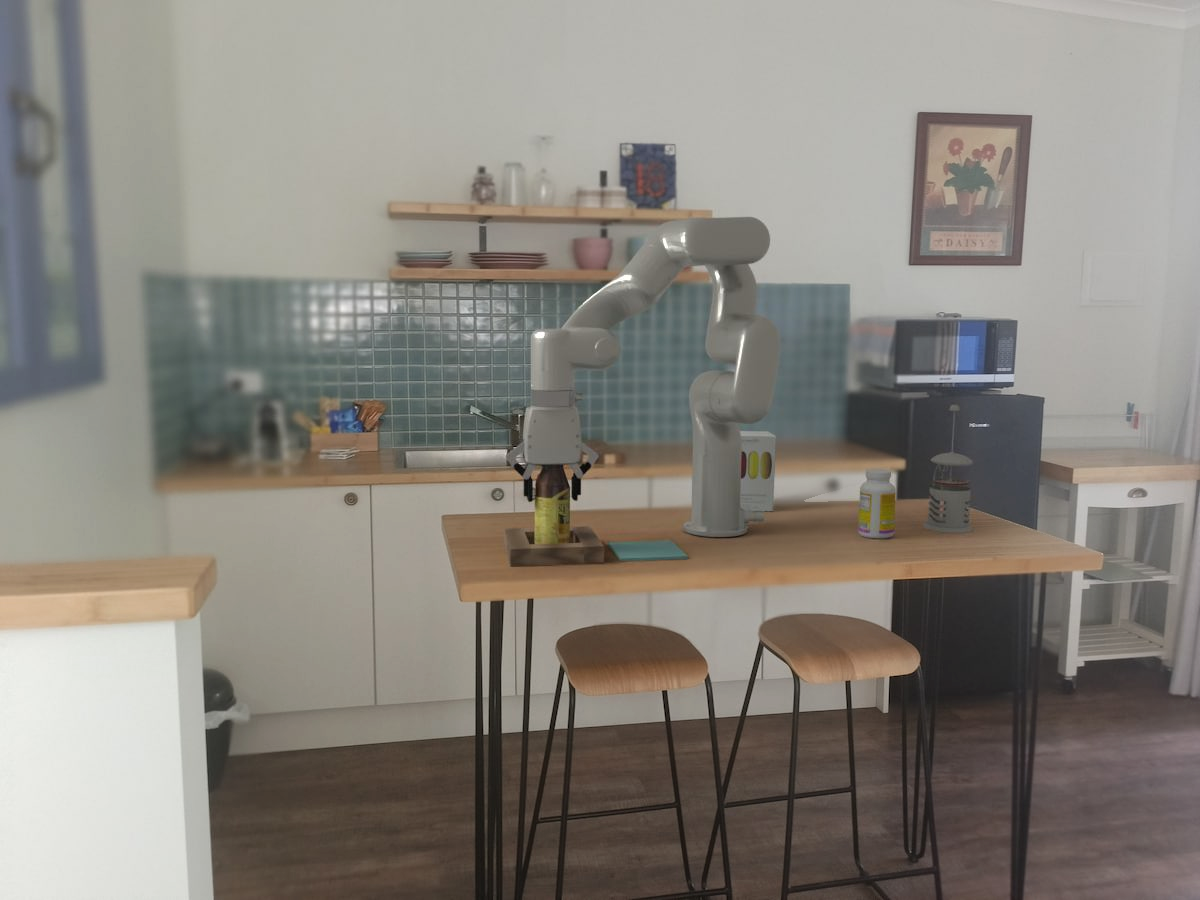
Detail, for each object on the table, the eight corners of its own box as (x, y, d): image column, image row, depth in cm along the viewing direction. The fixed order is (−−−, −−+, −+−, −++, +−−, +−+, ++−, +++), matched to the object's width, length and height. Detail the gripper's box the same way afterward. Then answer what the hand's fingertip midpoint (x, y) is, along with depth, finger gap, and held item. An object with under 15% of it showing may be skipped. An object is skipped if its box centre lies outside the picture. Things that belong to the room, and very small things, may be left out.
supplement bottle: (896, 534, 192) (899, 469, 190) (890, 541, 186) (894, 474, 184) (861, 530, 195) (864, 466, 193) (855, 537, 189) (858, 471, 187)
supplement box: (730, 512, 213) (732, 435, 210) (724, 503, 222) (725, 430, 219) (774, 512, 213) (777, 435, 211) (766, 503, 222) (768, 430, 220)
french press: (932, 532, 193) (939, 406, 190) (912, 520, 205) (918, 401, 202) (981, 532, 194) (989, 407, 190) (958, 520, 205) (965, 401, 202)
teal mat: (671, 543, 183) (671, 540, 183) (687, 558, 171) (687, 556, 171) (608, 545, 181) (608, 542, 181) (620, 561, 169) (620, 558, 169)
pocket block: (589, 541, 184) (589, 526, 183) (604, 563, 168) (604, 546, 167) (504, 544, 181) (504, 528, 181) (510, 566, 165) (510, 549, 165)
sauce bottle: (565, 559, 171) (565, 446, 168) (530, 557, 172) (530, 444, 169) (573, 550, 177) (573, 441, 174) (540, 548, 178) (539, 440, 176)
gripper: (598, 397, 176) (597, 495, 178) (500, 398, 173) (501, 497, 175) (605, 401, 168) (604, 502, 171) (503, 402, 166) (504, 505, 168)
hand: (552, 499), depth 173 cm, fingers open, 7 cm apart
